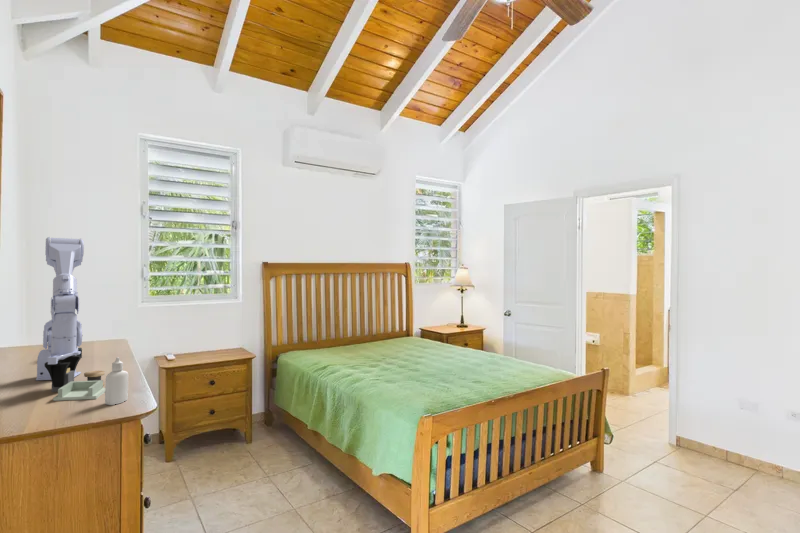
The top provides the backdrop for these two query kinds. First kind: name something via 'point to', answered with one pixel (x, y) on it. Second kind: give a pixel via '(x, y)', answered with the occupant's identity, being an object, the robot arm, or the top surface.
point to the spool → (94, 375)
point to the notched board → (80, 390)
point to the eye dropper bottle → (116, 384)
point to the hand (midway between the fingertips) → (63, 383)
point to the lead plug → (68, 378)
